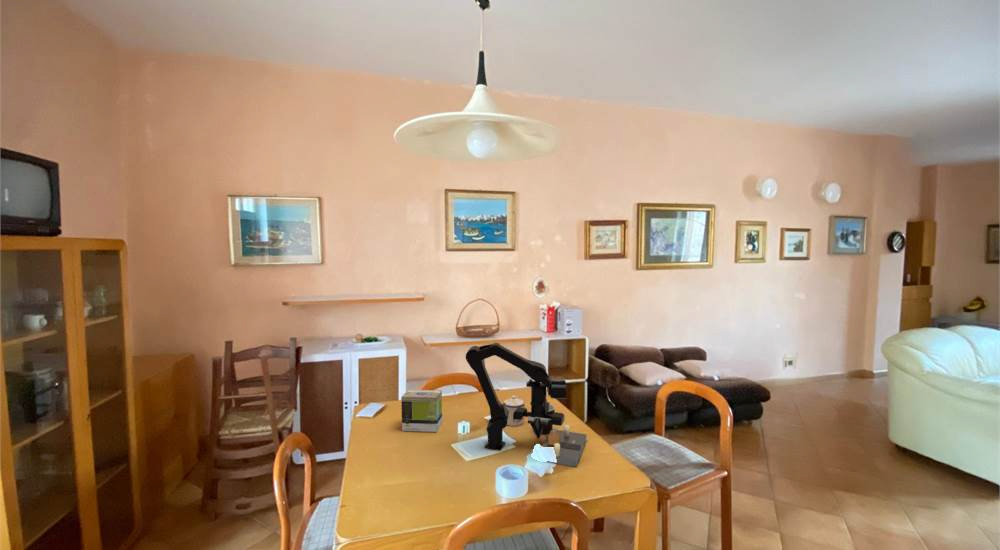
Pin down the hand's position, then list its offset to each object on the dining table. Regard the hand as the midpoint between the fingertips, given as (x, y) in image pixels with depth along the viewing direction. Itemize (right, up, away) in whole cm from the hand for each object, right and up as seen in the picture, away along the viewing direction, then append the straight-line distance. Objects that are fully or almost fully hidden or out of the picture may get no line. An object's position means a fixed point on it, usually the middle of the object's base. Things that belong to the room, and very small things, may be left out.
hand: (538, 438), depth 158 cm
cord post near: (+5, -2, -11) cm, 13 cm away
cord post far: (+11, -1, +5) cm, 12 cm away
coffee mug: (+4, -3, +16) cm, 17 cm away
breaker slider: (+6, -1, -2) cm, 6 cm away
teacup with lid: (-8, -3, +25) cm, 26 cm away
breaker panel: (+9, -4, -2) cm, 10 cm away
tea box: (-48, -3, +19) cm, 51 cm away
